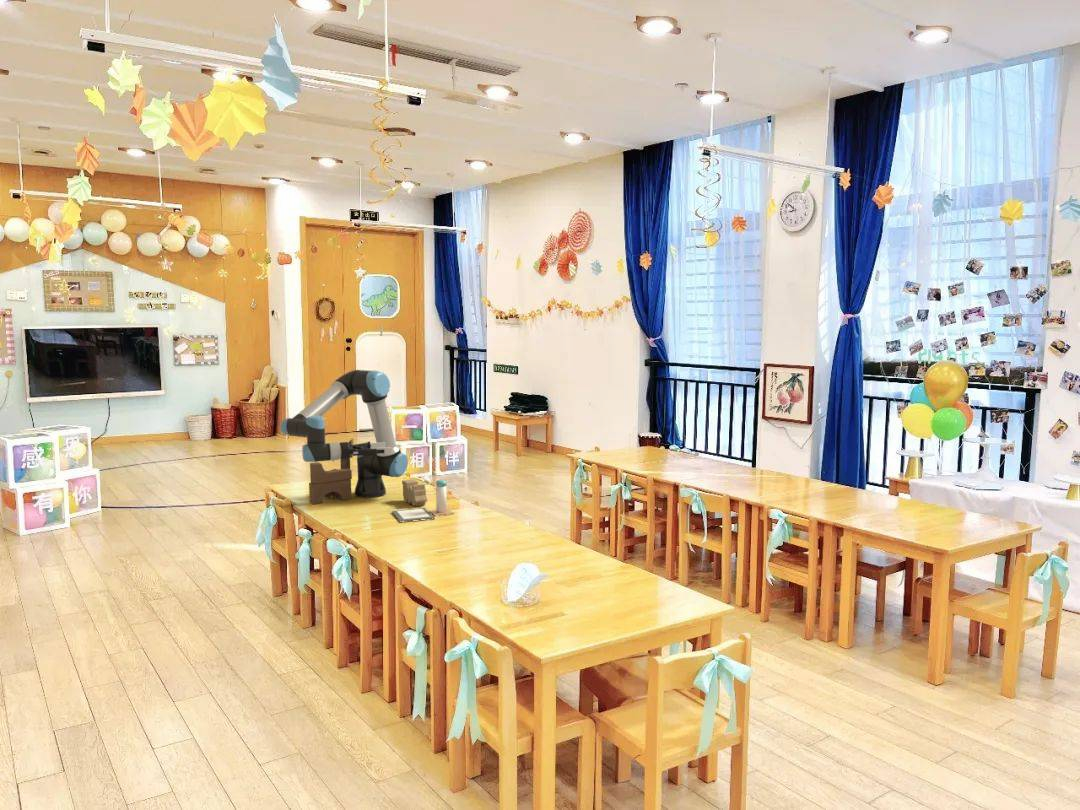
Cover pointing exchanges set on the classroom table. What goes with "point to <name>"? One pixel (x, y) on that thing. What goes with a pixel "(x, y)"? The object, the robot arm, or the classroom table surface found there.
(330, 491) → the wooden blocks
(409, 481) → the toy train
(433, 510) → the coaster
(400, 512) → the writing board
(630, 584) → the classroom table surface
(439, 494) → the white bottle
